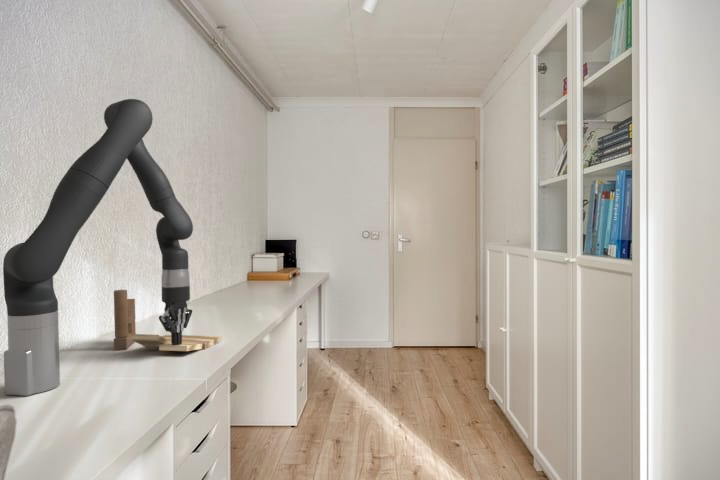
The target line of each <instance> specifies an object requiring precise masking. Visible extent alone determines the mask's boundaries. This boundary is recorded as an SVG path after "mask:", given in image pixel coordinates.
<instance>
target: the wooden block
mask: <svg viewBox="0 0 720 480" xmlns="http://www.w3.org/2000/svg"><path fill="white" fill-rule="evenodd" d="M113 306H114V308H113V309H114V310H113V312H114V313H113V314H114V338H113V350H114V351H121V350H122V351H123V350H125V351H126V350H127V349H128V348H130V347H131V346H132V345H133V344H134V343H136V342H134V341H132V340H130V339H129V338H130V335H131V334H137V332H136V299H135V298H128V290H127V289H115V290H113Z"/></svg>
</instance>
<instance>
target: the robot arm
mask: <svg viewBox="0 0 720 480" xmlns="http://www.w3.org/2000/svg"><path fill="white" fill-rule="evenodd" d="M103 120H104V124H105V125H106V127H107V128H106V130H105V132H104V133H103V134H102V136H100V138H99V139H98V140H97V141H96V142H95V143H94V144H93V145H91V146H90V147H89V148H88V149H87V150H85V152H83V153H82V154H81V155H80V156H79V157H78V158H77V159H76V160H75V161H74V162H73V163H72V165H71V166H70V167H69V168H68V170H67V172H66V173H65V174H64V176H63V177H62V178H61V179H60V182H59V183H58V185H57V186H56V188H55V190H54V192H53V195H52V197H51V200H50V203H49V206H48V209H47V211H46V213H45V216H43V219H42V220H41V222H40V223H39V224H38V225H37V227H35V229H34V230H33V232H32V233H31V235H29V237H28V238H27V239H26V240H25V241H24V242H20V243H17V244H15V245H14V246H12V247H11V248H9V249H8V251H6V253H5V255H4V258H3V263H2V272H3V291H4V292H3V293H4V295H3V297H4V301H5V305H6V311H7V312H6V313H7V350H6V349H5V350H4V351H3V367H4V368H3V369H4V370H3V373H4V375H3V379H4V395H8V396H23V397H24V396H25V397H28V396H31V395H35V394H40V393H43V392H48V391H49V390H53V389H56V388H57V387H59V386H60V384H61V376H60V375H61V373H60V371H61V370H60V369H61V368H60V342H59V341H60V337H59V336H60V332H59V329H60V328H59V302H58V298H57V296H56V293H55V289H54V276H55V275H57V273H58V272H59V270H60V268H61V266H62V265H63V262H64V260H65V258H66V256H67V254H68V251H70V248H71V245H72V244H73V242H74V240H75V238H76V237H77V235H78V233H79V232H80V230H81V229H82V228H83V226H84V225H85V223H87V221H88V220H89V218H90V217H91V215H92V214H93V212H94V211H95V209H96V208H97V207H98V206H99V205H100V203H101V201H102V199H103V198H104V197H105V195H106V193H107V192H108V191H109V188H110V187H111V185H112V184H113V182H114V180H115V179H116V177H117V175H118V174H119V172H120V170H121V169H122V168H123V165H124V164H125V162H126V160H127V161H128V162H129V165H130V166H131V168H132V170H133V172H134V174H135V175H136V177H137V179H138V181H139V183H140V185H141V187H142V190H143V192H144V194H145V197H146V199H147V201H148V203H149V205H150V208H151V209H152V210H153V211H154V212H158V213H159V214H162V216H163V217H161V218H160V219H158V222H157V224H156V227H155V233H156V239H157V243H158V247H159V250H160V252H161V268H162V270H161V281H160V283H161V301H162V302H163V303H164V304H165V307H164V313H163V314H162V315H159V316H158V320H159V322H160V323H161V325H162V326H163V329H164V331H165V332H166V333H167V332H169V333H170V335H171V340H172V341H171V343H172V345H181V344H182V335H183V331H184V329H187V327H188V324H189V323H190V320H191V317H192V314H193V309H189V308H188V301H190V299H191V285H190V284H191V281H190V271H189V267H190V266H189V252H188V251H187V250H186V249H184V248H182V247H181V245H180V242H179V241H183V240H187V239H189V238H190V237H191V236H192V235H193V230H194V225H193V221H192V218H191V217H190V215H189V214H188V213H187V211H186V209H185V208H184V207H183V206H182V204H181V203H180V201H179V200H178V199H177V198H176V194H175V192H174V190H173V188H172V185H171V183H170V180H169V179H168V176H167V175H166V173H165V172H164V170H163V169H162V168H161V166H160V165H159V164H158V163H157V162H156V161H155V159H154V158H153V157H152V155H151V153H150V152H149V151H148V148H147V147H146V145H145V142H144V140H143V138H144V137H146V135H147V133H148V132H149V131H150V129H151V127H152V125H153V113H152V109H151V108H150V107H149V105H148V104H147V103H146V102H145V101H143V100H140V99H138V98H136V99H135V98H128V99H123V100H120V101H116V102H113V103H111V104H109V105H107V107H106V108H105V110H104V113H103Z"/></svg>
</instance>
